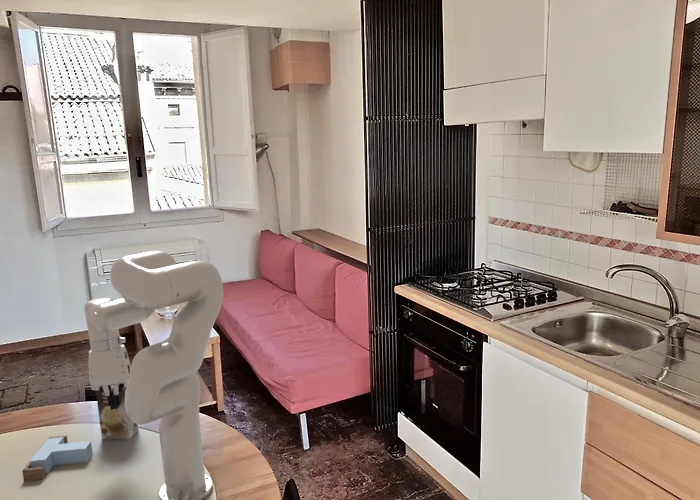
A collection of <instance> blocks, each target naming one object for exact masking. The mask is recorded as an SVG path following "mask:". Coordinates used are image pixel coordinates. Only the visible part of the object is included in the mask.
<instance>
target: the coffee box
mask: <svg viewBox="0 0 700 500" xmlns="http://www.w3.org/2000/svg"><path fill="white" fill-rule="evenodd" d="M111 387H112V391H113V392H114V385H111ZM125 393H126V387H124V388H123V389H122V390H121V391H120V396H121V405H120V406H119V407H118V409H113V410H111V407H110V406H109V405H108V399H107V396H105V394H104V393H103V392H101V391H100V390H99V391H97V390H95V395H96V402H97V412H98V420H99V426H100V434H101V435H100V436H101V440H121V441H122V440H127V441H129V440H131V439H132V438H133V437H134V436H135V434H136V433H137V432H138V431H139V430H140V429H139V424H136V423H134V422H132V421H131V420H130V419H129V417H128V415H127V413H126V410H125Z"/></svg>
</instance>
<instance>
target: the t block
mask: <svg viewBox="0 0 700 500" xmlns="http://www.w3.org/2000/svg"><path fill="white" fill-rule="evenodd" d="M45 442H46V443H45ZM45 442H44V443H45V444H44V443H43V444H42V445H41V447H40V449H39V450H37V452H36V453H35V454H34V455H33V457H32V458H31V460H29V462H30V465H31V468H37V467H43V471H44V474H48V473H49V472H50V471H51V469H52V468H53V467H54V466H55V465H58V466H59V465H66V464H69V465H70V464H76V463H78V464H79V463H86V462H89V460H90V459H91V457H92V456H93V447H92V441H90V440H89V441H79V442H78V441H76V442H68V443H66V444H64V438H63V437H60V438H50V439H49V438H48V439H47V440H46V441H45Z"/></svg>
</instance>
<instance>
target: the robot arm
mask: <svg viewBox="0 0 700 500" xmlns="http://www.w3.org/2000/svg"><path fill="white" fill-rule="evenodd" d="M109 274H110V275H109V277H110V282H111V284H112V287H113V289H114V290H115V291H116V292H117V293H118V294H119V295H120V296H121V297H122V298H118V299H112V298H111V297H99V298H95V299H90V300H88V301H87V302H86V303H85V304H84V315H85V322H86V327H87V332H88V334H87V335H88V339H89V346H90V350H89V351H88V362H87V363H88V364H87V365H88V375H89V376H88V379H89V382H90V383H89V384H90V385H91V387H90V389H91V390H92V391H96V390H97V391H99V390H100V391H101V392H103V393H104V394H105V396H107V399H108V405H109V406H110V407H111V410H113V409H118V407H119V406H120V405H121V396H120V391H121V390H122V389H123V388H124V387H126V393H125V410H126V413H127V415H128V417H129V419H130V420H131V421H132V422H134V423H136V424H138V425H140V426H141V425H144V426H145V425H148V424H151V423H153V422H156V421H158V420H159V419H160V421H159V428H158V433H159V442H160V453H161V460H162V469H163V470H162V471H163V478H164V484H163V485H162V486H161V487H160V489H159V500H203V499H205V498H206V497H207V496H208V495H209V494H210V493H211V491H212V489H213V480H212V478H211V477H210V476H208V475H207V474H206V472H205V464H204V463H205V461H204V452H203V443H202V434H201V433H202V432H201V424H200V423H201V422H200V421H201V420H200V401H201V400H200V399H201V381H200V377H199V376H198V374H197V372H198V371H199V369H200V368H201V366H202V363H203V361H204V357H205V356H206V355H205V354H206V351H207V348H208V344H209V342H210V337H211V332H212V330H213V327H214V325H215V323H216V320H217V318H218V316H219V314H220V312H221V311H220V310H221V307H222V304H223V299H224V285H223V279H222V277H221V274H220V272H219V269H217V267H216V266H215V265H214V264H212V263H210V262H208V261H203V260H193V261H186V262H181V263H177V261H176V260H175V258H174V256H173V255H172V254H170V253H169V252H166V251H164V250H163V251H162V250H152V251H151V250H150V251H145V252H141V253H136V254H130V255H125V256H122V257H120V258H118V259H116V260H115V261H114V263H113V264H112V265H111V269H110V273H109ZM183 303H185V305H184V306H183V308H182V309H181V310H180V311H179V312H178V313H177V315H176V317H175V318H174V321H173V324H172V327H171V331H170V334H169V336H168V337H167V338H166V339H164V340H162V341H159V342H157V343H154V344H151V345H148V346H146V347H144V348H142V349H141V350H139V351H138V352H137V353H136V354H135V356H134V357H133V359H132V360H131V361H132V362H130V358H129V354H128V351H127V348H126V347H125V344H123V343H126V342H127V341H126V337H122V336H121V334H120V331H119V329H122V328H127V327H129V326H132V325H136V324H139V323H142V322H145V321H146V320H148V319H149V318H150V317H151V316H152V315H153V314H154V313H155V312H156V310H162V309H165V308H169V307H172V306H176V305H180V304H183ZM111 385H114V392H113V391H112V387H111Z"/></svg>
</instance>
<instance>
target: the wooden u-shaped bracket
mask: <svg viewBox="0 0 700 500" xmlns="http://www.w3.org/2000/svg"><path fill="white" fill-rule="evenodd" d="M60 437H63V438H64V444H66V443H69V439H68V435H60V436H58V435H57V436H49V437H48V439H50V438H60ZM45 443H46V441H45V442H44V443H43V445H44V444H45ZM21 471H22V478H23V479H22V480H23V481H24V482H28V481H29V482H30V481H36V480H37V481H38V480H43V479H45V473H44V471H43V467H37V468H31V465H30V461H29V462H28V463H27V464H26V465H25V466H24V468H23V469H22V470H21Z"/></svg>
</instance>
